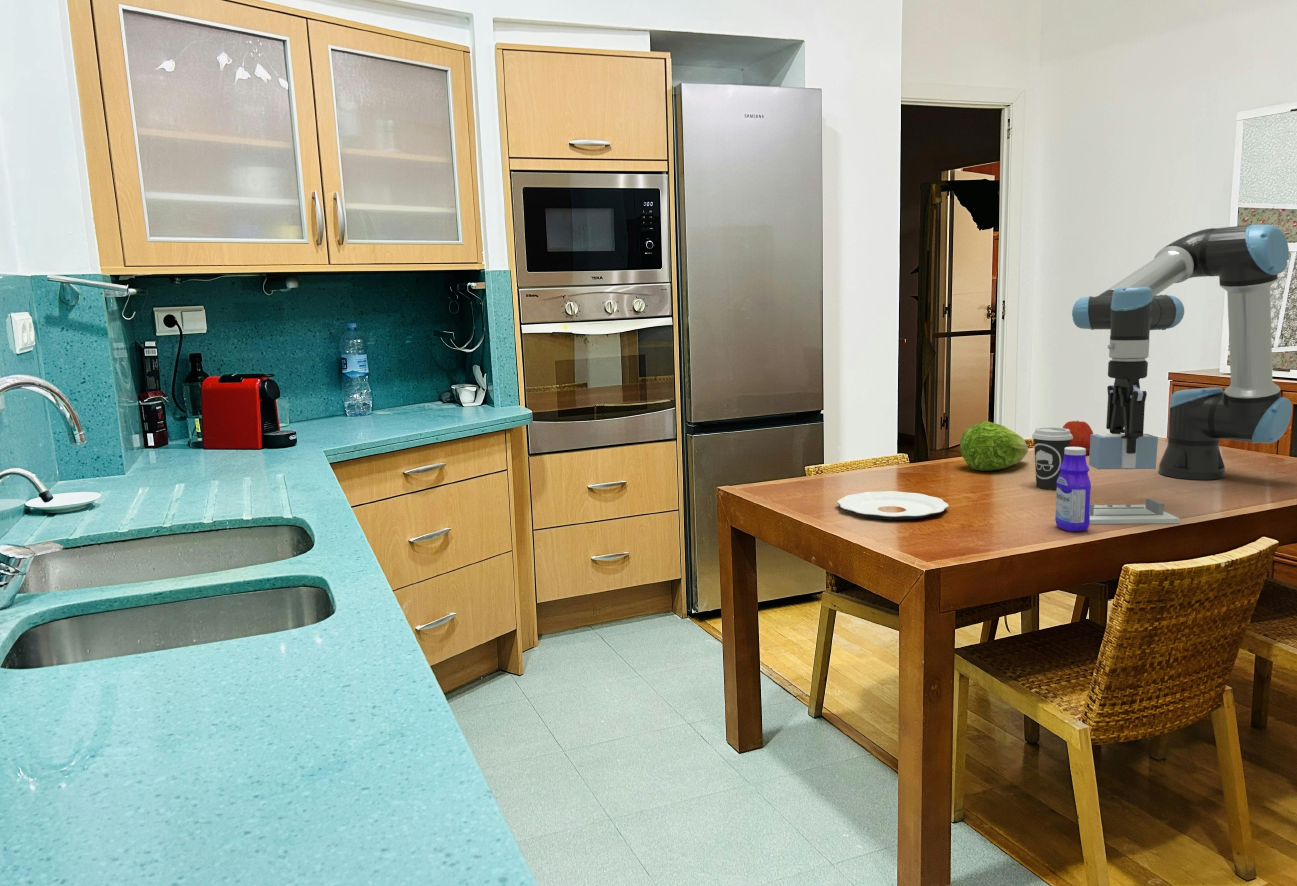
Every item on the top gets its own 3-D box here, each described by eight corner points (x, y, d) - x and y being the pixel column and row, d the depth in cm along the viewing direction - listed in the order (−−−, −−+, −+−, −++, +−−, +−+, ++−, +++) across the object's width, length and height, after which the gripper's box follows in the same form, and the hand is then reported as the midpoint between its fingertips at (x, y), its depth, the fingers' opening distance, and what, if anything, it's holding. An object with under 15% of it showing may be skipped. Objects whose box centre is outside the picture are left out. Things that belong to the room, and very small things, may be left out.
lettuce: (1055, 443, 251) (1017, 413, 261) (1005, 441, 237) (967, 410, 247) (1027, 482, 258) (991, 452, 268) (977, 483, 244) (941, 451, 254)
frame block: (1098, 469, 191) (1100, 437, 190) (1088, 465, 196) (1090, 433, 195) (1155, 469, 190) (1158, 436, 189) (1144, 464, 195) (1146, 432, 194)
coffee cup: (1075, 491, 220) (1077, 432, 218) (1034, 490, 222) (1036, 432, 220) (1065, 483, 230) (1067, 426, 227) (1026, 483, 231) (1028, 426, 229)
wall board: (1150, 508, 201) (1151, 494, 200) (1179, 523, 188) (1180, 507, 187) (1064, 509, 202) (1064, 495, 202) (1087, 524, 189) (1087, 508, 189)
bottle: (1049, 525, 190) (1052, 445, 187) (1074, 523, 190) (1078, 444, 187) (1068, 533, 183) (1072, 451, 180) (1094, 532, 183) (1098, 450, 180)
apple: (1062, 456, 266) (1064, 422, 264) (1052, 450, 276) (1054, 417, 274) (1098, 456, 264) (1100, 422, 262) (1087, 450, 274) (1089, 417, 272)
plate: (931, 528, 191) (931, 520, 191) (822, 516, 204) (822, 508, 204) (958, 504, 212) (958, 496, 212) (857, 495, 225) (858, 487, 225)
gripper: (1092, 357, 199) (1087, 458, 202) (1128, 362, 181) (1122, 473, 185) (1127, 356, 198) (1121, 457, 202) (1167, 362, 180) (1160, 473, 184)
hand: (1122, 465), depth 193 cm, fingers closed on frame block, 5 cm apart
